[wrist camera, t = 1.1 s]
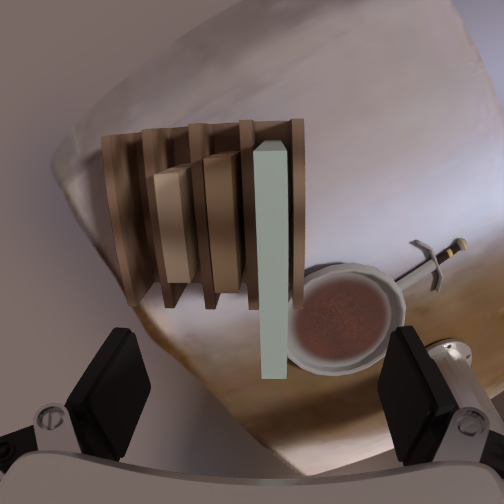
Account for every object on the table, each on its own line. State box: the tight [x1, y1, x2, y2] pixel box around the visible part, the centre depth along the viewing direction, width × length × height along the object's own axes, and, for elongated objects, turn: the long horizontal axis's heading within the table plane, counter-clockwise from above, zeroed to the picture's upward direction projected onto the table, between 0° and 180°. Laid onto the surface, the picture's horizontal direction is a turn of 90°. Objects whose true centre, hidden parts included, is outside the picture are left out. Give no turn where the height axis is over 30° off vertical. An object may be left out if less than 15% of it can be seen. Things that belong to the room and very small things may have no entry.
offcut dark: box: [203, 151, 246, 293], centre depth 31 cm, size 12×2×8 cm, turn 3°
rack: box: [101, 119, 305, 310], centre depth 32 cm, size 18×19×7 cm
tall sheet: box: [253, 140, 288, 379], centre depth 26 cm, size 14×2×18 cm, turn 2°
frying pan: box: [287, 238, 467, 376], centre depth 38 cm, size 17×3×28 cm
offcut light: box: [154, 163, 200, 283], centre depth 31 cm, size 10×2×8 cm, turn 3°
